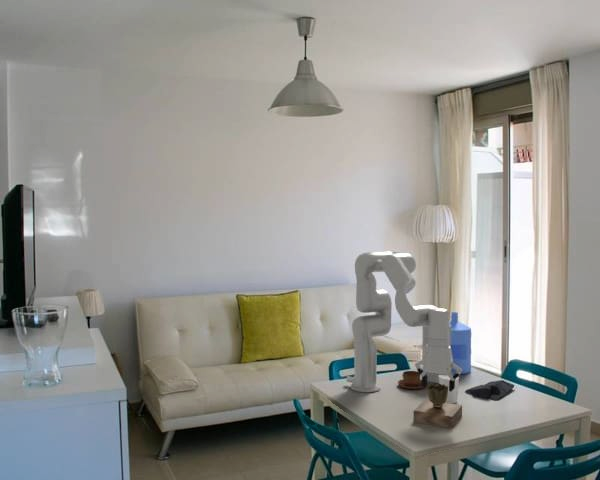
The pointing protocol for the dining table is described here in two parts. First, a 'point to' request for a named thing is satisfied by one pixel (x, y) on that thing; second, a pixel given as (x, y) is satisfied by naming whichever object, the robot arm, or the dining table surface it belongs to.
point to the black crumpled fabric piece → (491, 390)
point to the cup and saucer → (411, 380)
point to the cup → (437, 395)
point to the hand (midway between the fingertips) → (438, 388)
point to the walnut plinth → (438, 414)
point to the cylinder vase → (430, 377)
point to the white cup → (451, 395)
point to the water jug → (460, 344)
